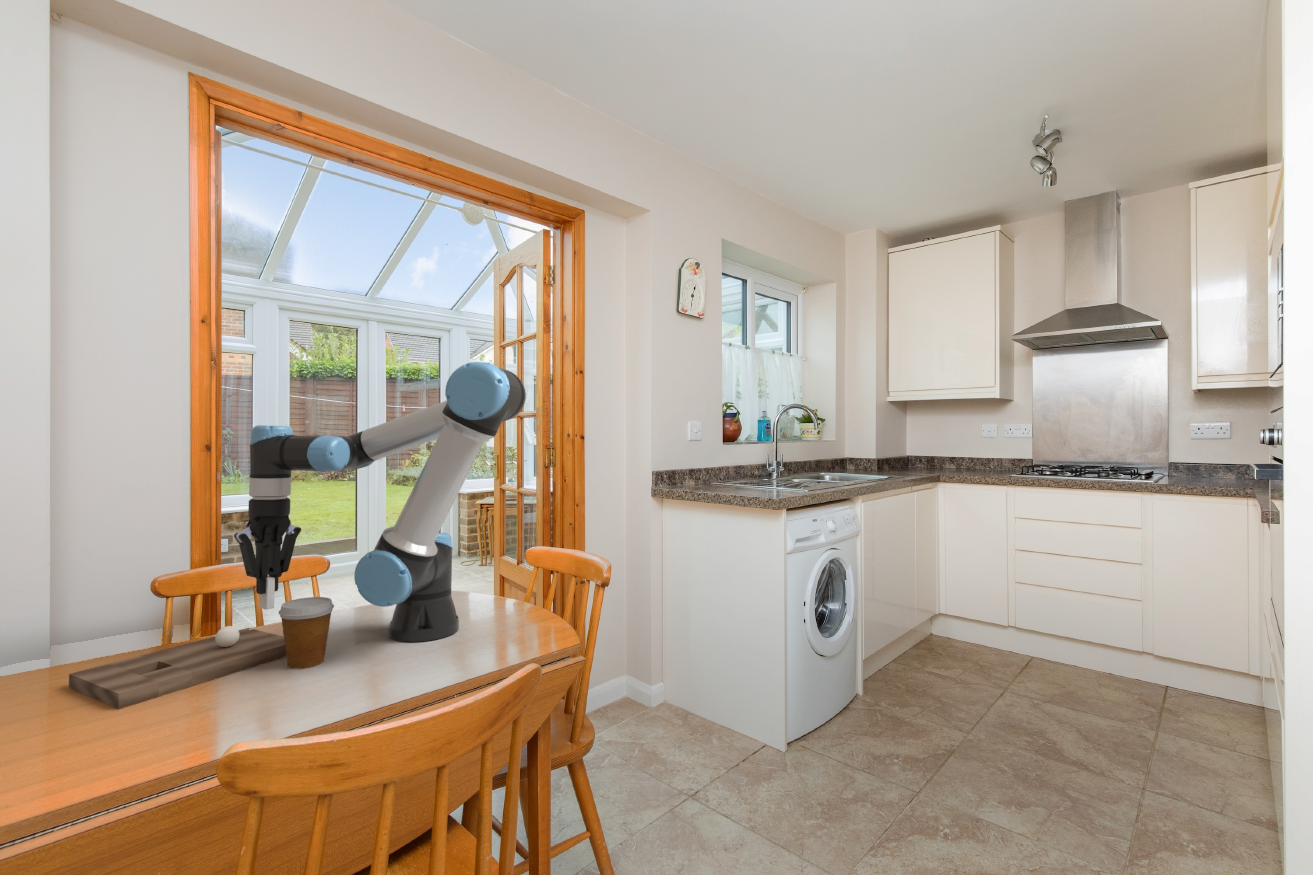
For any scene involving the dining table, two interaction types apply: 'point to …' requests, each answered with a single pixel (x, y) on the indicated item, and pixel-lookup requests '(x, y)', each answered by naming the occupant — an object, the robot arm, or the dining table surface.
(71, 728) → the dining table surface
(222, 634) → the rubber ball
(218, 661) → the hole board
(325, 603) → the disposable coffee cup
